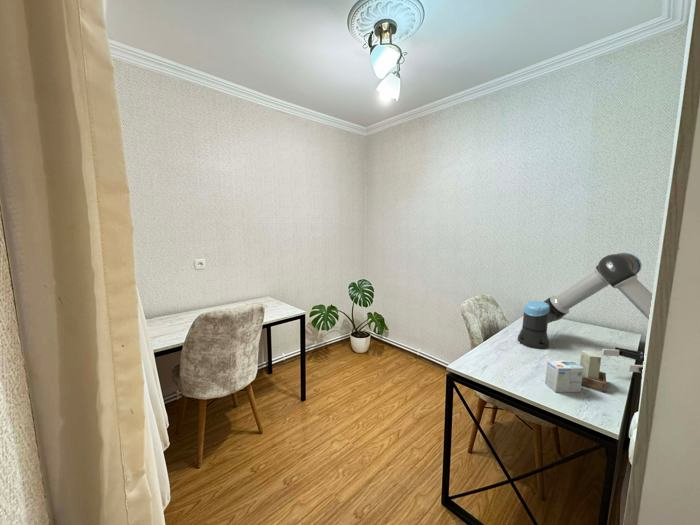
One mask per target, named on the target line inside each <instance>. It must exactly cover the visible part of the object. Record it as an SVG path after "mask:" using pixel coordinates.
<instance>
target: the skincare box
mask: <svg viewBox="0 0 700 525" xmlns="http://www.w3.org/2000/svg"><path fill="white" fill-rule="evenodd" d="M601 362H602V357H601V356H600V355H599V354H597V353H596V352H594V351H592V350H584V349H583V350H581V352H580V360H579V365H580V366H581V367H583V375H582V376H584V377H587V378H591V379H595V380H599V372H600V371H601Z"/></svg>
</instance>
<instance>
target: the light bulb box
mask: <svg viewBox="0 0 700 525" xmlns="http://www.w3.org/2000/svg"><path fill="white" fill-rule="evenodd" d="M582 375H583V367H581V366H580V364H578V363H577V362H575V361H573V360H570V359H569V360H567V359H566V360H565V359H564V360H547V362H546V371H545V380H544V385H546V386H547V387H549V389H551V390H552V391H553V392H555V393H580V392H581V389H582V388H581V387H582V386H581V383H582Z"/></svg>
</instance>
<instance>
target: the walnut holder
mask: <svg viewBox="0 0 700 525" xmlns="http://www.w3.org/2000/svg"><path fill="white" fill-rule="evenodd" d="M581 387H584V388H586V389H590V390H594V391H597V392H599V393H600V392H601V393H603V394H605V393H606V387H607V373H606V372H603V371H601V370H600V372H599V380H595V379H591V378H587V377H584V376H582V383H581Z"/></svg>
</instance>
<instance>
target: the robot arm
mask: <svg viewBox="0 0 700 525" xmlns="http://www.w3.org/2000/svg"><path fill="white" fill-rule="evenodd" d="M641 270H642V262H641V260H640V259H639V257H638V256H636V255H635V254H632V253H628V252H620V253H619V252H618V253H615V254H614V253H612V254H608V255H606V256H604V257H602V258H601V259H600V260H599V262H598V264H597V265H596V266H595V271H593V272H592V273H590V274H589V275H587V276H586V277H584V278H582V279H581V280H579V281H578V282H577V283H575V284H573V285H572V286H570V287H569V288H568V289H566V290H564V291H563V292H561V293H560V294H558V295H557V296H556V295H551V296H550V297H548V298H547V299H544V300H543V301H540V300H530V301H528V302H525V304H524V308H523V318H522V319H523V320H522V328H520V332H519V334H518V335H517V342H518V341H519V342H520V343H519V342H518V343H519V344H521V345H522V344H523V345H522V346H525V347H528V348H530V349H531V348H532V349H537V350H538V349H539V350H546V349H549V348H550V339H549V335H548V325H549V323H552V322H553V323H554V322H556V321H559V320H561V319H563V317H564V316H566V315H568V314H569V313H570V309H571V308H573V307H575V306H577V305H579V304H580V303H581V302H583V301H585V300H587V299H588V298H589V297H592V296H593V295H595V294H596V293H598V292H599V291H601V290H603V289H605V288H607V287H609V285H610V286H611V288H613V289H617V290H618V291H619V292H620V293H622V295H623V296H625V297H626V299H627V300H628V301H629V302H630V303H631V304H632V305H633V306H634V307H635V308H637V309H638V311H639V312H640V313H641V314H642V315H643V316H644V317H645V318H646V319H647V320H648V321H649V314H650V307H651V300H652V294H653V293H652V292H651V291H650V290H649V289H648V287H646V286H645V285H644V284H643V283H642V282H641V281H639V280H638V275H637V274H639V273H640V271H641ZM644 353H645V354H646V352H644V351H639V350H638V351H637V350H633V349H627V348H623V347H618V346H617V347H616V346H615V348H613V349H611V348H609V349H608V348H602V349H601V355H602V356H607V357H608V356H610V357H624V358H628V359H630V360H636V361H637V362H639V363H643V361H644ZM643 365H644V363H643V364H628V365H627V366H628V367H627V372H630V373H631V372H632V373H643V372H642V369H643Z"/></svg>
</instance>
